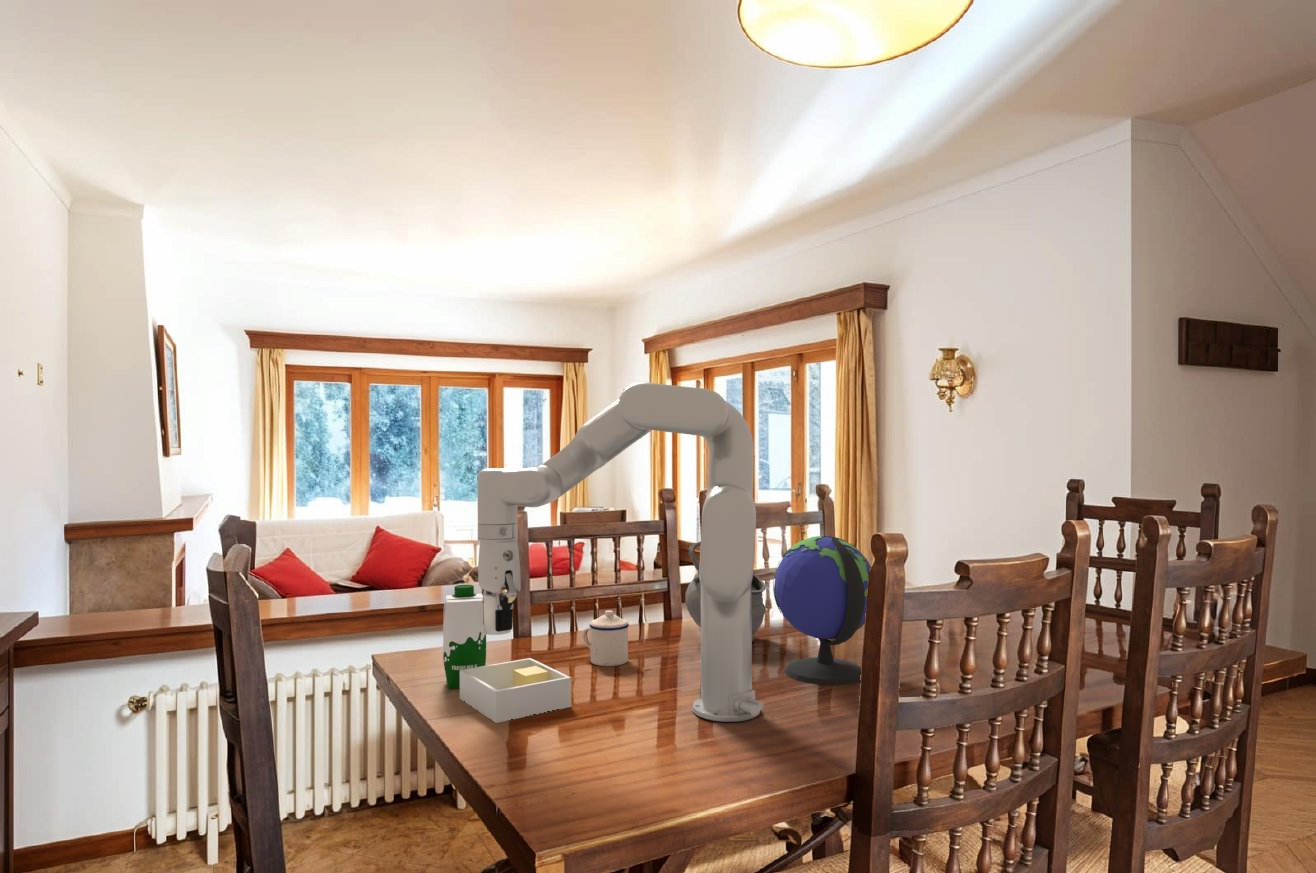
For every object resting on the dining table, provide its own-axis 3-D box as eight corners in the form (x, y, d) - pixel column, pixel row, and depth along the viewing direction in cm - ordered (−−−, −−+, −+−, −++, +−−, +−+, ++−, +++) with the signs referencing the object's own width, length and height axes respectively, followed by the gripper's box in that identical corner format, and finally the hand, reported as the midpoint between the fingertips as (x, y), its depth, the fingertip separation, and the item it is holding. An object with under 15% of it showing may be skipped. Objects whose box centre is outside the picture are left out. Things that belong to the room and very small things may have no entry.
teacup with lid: (636, 660, 187) (636, 609, 187) (613, 669, 179) (613, 616, 179) (595, 653, 193) (595, 604, 193) (571, 661, 186) (571, 611, 186)
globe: (892, 669, 178) (891, 533, 179) (856, 694, 160) (855, 544, 160) (799, 654, 191) (798, 528, 191) (756, 677, 173) (755, 537, 173)
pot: (671, 636, 210) (671, 540, 210) (740, 628, 218) (739, 536, 219) (709, 654, 191) (709, 549, 191) (782, 645, 200) (782, 544, 200)
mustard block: (548, 697, 157) (548, 671, 157) (525, 702, 154) (525, 676, 154) (536, 690, 161) (536, 666, 161) (513, 695, 158) (513, 670, 158)
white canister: (514, 632, 153) (514, 595, 153) (490, 636, 151) (490, 598, 151) (503, 627, 157) (503, 591, 158) (479, 631, 155) (479, 594, 155)
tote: (571, 707, 153) (571, 677, 153) (495, 723, 144) (495, 691, 144) (530, 685, 167) (530, 658, 168) (459, 698, 159) (459, 670, 159)
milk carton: (484, 675, 174) (484, 583, 175) (487, 687, 166) (487, 590, 166) (442, 678, 172) (442, 585, 172) (443, 691, 163) (443, 592, 164)
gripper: (535, 535, 149) (535, 633, 149) (497, 527, 163) (497, 617, 163) (497, 538, 145) (497, 639, 145) (462, 530, 159) (462, 622, 159)
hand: (497, 626), depth 154 cm, fingers closed on white canister, 5 cm apart
